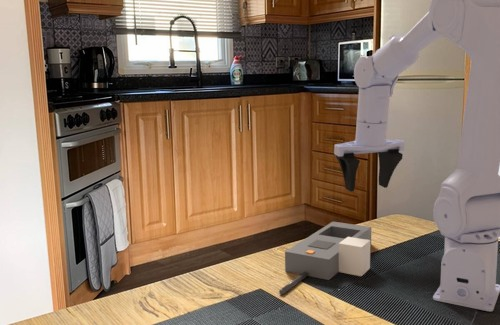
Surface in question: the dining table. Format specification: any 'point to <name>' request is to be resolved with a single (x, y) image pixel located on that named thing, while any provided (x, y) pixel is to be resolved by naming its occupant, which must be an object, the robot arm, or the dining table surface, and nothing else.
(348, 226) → the power strip
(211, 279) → the dining table surface
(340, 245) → the plug
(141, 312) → the dining table surface
